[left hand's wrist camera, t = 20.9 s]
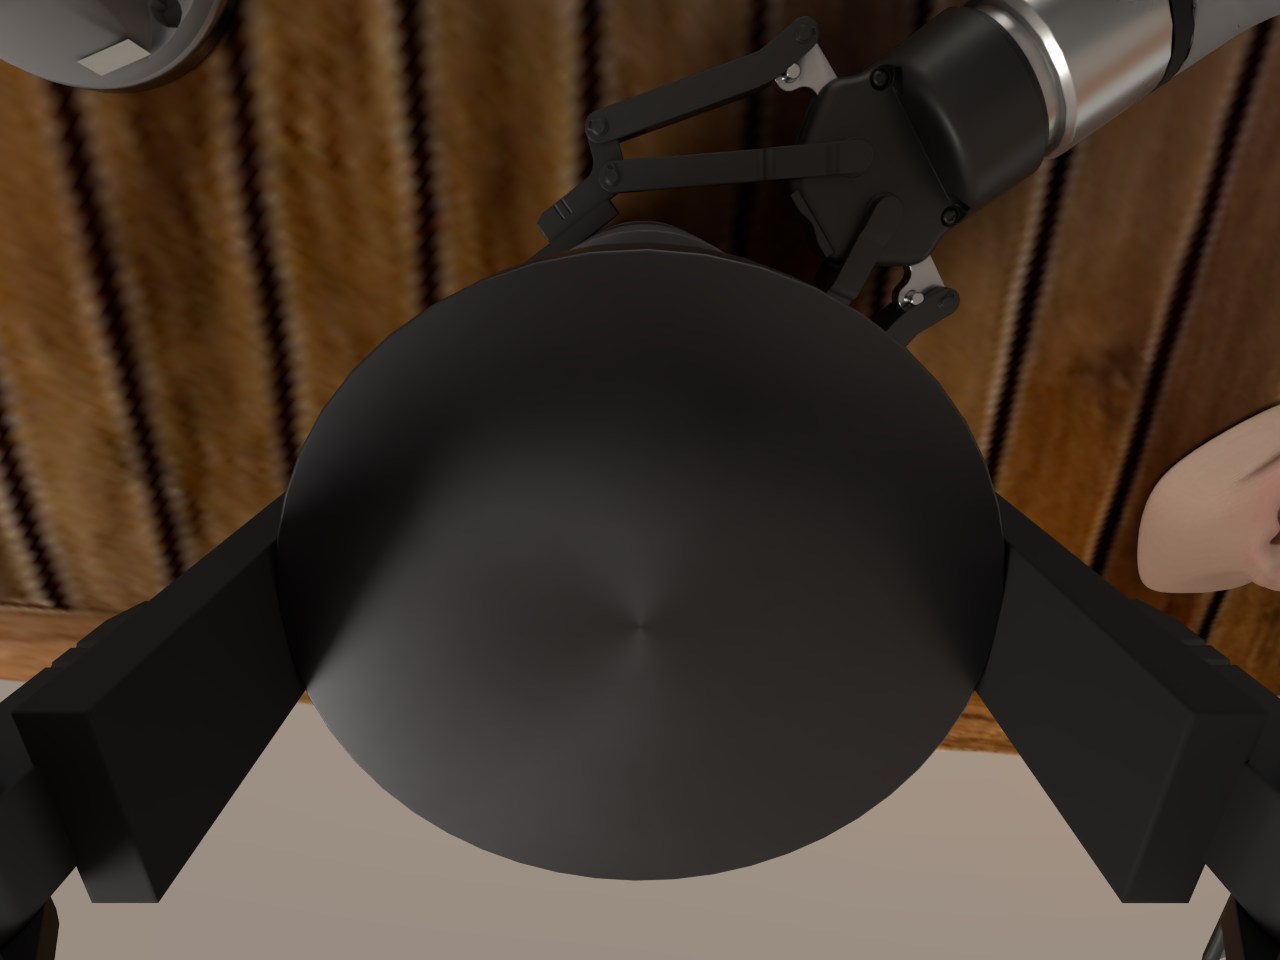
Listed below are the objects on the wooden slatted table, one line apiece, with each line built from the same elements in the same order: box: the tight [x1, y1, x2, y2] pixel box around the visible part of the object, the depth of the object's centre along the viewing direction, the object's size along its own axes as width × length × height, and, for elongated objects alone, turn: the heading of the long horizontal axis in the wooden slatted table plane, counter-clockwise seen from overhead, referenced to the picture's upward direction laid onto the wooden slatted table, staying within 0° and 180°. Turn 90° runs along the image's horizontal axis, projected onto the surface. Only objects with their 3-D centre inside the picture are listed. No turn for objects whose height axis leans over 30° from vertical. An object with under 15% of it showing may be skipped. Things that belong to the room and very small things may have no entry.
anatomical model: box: [1137, 405, 1280, 593], centre depth 40 cm, size 13×4×12 cm
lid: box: [276, 242, 1005, 880], centre depth 11 cm, size 11×11×2 cm
